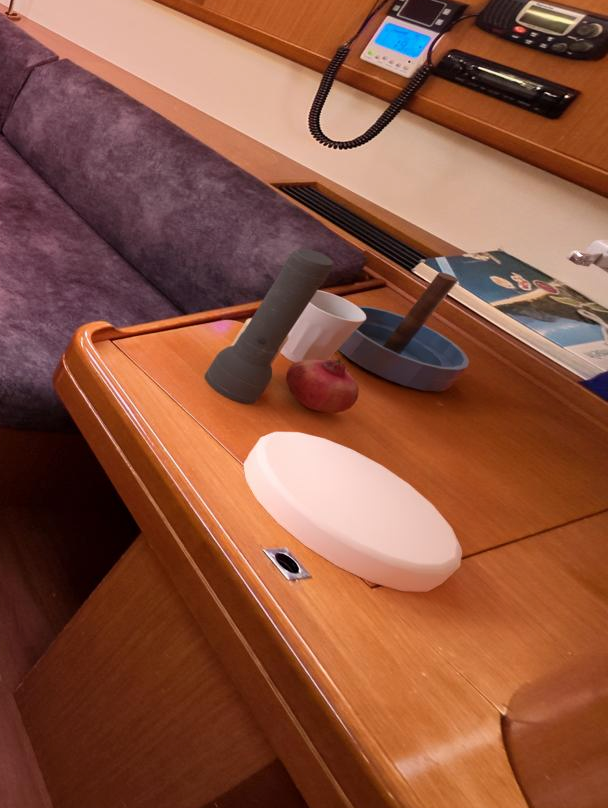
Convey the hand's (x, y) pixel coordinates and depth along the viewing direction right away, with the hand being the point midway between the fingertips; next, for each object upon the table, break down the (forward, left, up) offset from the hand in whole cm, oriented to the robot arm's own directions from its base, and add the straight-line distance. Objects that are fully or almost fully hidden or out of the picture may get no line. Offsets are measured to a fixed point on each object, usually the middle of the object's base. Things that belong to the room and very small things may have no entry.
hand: (599, 274), depth 94 cm
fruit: (+25, +25, -26) cm, 44 cm away
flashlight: (+35, +29, -26) cm, 52 cm away
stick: (+13, +2, -25) cm, 28 cm away
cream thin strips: (+33, +21, -26) cm, 47 cm away
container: (+24, +48, -26) cm, 60 cm away
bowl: (+13, +2, -26) cm, 29 cm away
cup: (+25, +11, -26) cm, 38 cm away
